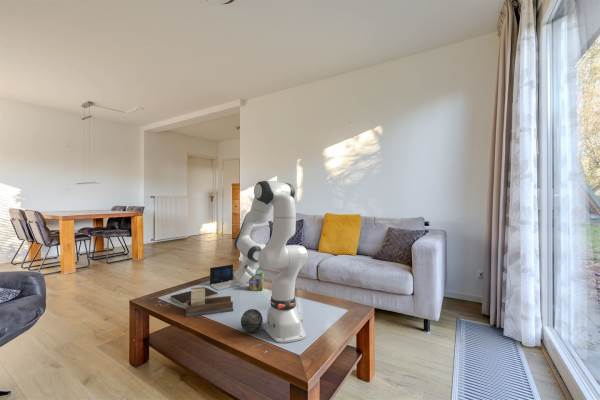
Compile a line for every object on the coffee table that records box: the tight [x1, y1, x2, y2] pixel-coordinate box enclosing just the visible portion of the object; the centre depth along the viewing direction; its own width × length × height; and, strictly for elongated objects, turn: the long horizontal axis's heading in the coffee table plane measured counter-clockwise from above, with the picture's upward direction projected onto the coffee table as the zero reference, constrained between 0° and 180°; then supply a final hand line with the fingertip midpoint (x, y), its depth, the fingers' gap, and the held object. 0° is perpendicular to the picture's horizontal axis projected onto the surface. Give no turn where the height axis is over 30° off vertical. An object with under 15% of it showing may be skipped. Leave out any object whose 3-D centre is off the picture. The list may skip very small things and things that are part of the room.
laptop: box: [209, 264, 241, 291], centre depth 192 cm, size 18×12×13 cm
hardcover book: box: [169, 286, 218, 306], centre depth 169 cm, size 16×23×2 cm
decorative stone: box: [240, 308, 264, 333], centre depth 126 cm, size 10×10×10 cm
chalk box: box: [248, 269, 265, 291], centre depth 187 cm, size 9×9×15 cm
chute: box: [185, 295, 234, 318], centre depth 151 cm, size 16×24×4 cm, turn 111°
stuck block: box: [190, 286, 206, 306], centre depth 149 cm, size 7×7×10 cm
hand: (231, 286), depth 154 cm, fingers closed
